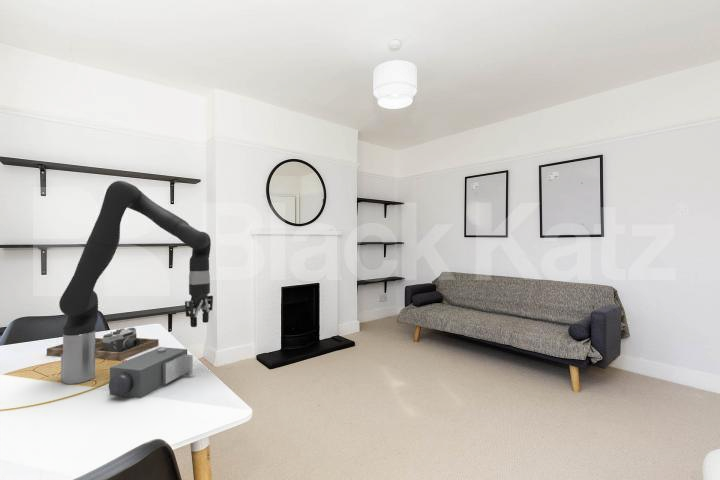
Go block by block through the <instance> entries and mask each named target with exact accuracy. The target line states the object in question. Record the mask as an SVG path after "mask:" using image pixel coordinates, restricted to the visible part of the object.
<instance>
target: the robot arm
mask: <svg viewBox="0 0 720 480" xmlns="http://www.w3.org/2000/svg"><path fill="white" fill-rule="evenodd" d="M127 209H130V210H132V211H134V212H137V213H140V215H141V214H142V215H143V216H145V217H146V218H148V219H149V220H150V221H152V222H153V223H155V225H157V226H158V227H159V228H161V229H162V230H164V231H165V232H167V233H168V234H170V235H172V236H173V237H176V238H177V239H179V240H180V241H181V243H183V244H184V245H186V246H187V247H189V248H191V249H192V250H191V251H192V252H191V256H190V259H189V264H188V265H189V271H188V272H189V274H188V295H190V296H191V297H190V300H185V302H184V307H185V308H184V309H185V317H186V318H187V317H188V318H189V319H190V320H189V321H190V322H189V323H190V324H189V325H190V327H191V328H196V327H198V317H197V316H198V313H199V312H200V311H201V312H202V323H203V324H205V323H209V315H210V314H209V313H210V312H211V311H213V307H214V306H213V305H214V304H213V303H214V295H209V294H210V293H211V275H210V255H211V254H210V253H211V246H212V243H211V241H212V240H211V237H210V235H209V234H208V233H207V232H205V231H200V230H198V229H196V228H195V227H193V226H191V225H190V224H189V223H188V221H186V220H184V219H182V218H181V217H179V216H178V215H176V214H175V213H173V212H172V211H170V210H168V209H166V208H164V207H163V206H161V205H159V204H157V203H156V202H155V201H153V200H152V199H150V198H149V197H148V196H147V195H146V194H145V193H144V192H142V191H141V190H140V189H139V188H138V187H137V186H136V185H134V184H131V183H129V182H127V181H125V180H116V181H113V182H112V183H110V185H108V187H107V189H106V191H105V194H104V198H103V201H102V204H101V209H100V211H99V214H98V217H97V219H96V220H95V223H94V226H93V228H92V230H91V232H90V235H89V237H88V238H87V240H86V243H85V246H84V248H83V249H82V250H83V251H82V253H81V256H80V258H79V259H78V263H77V264H76V269H75V271H74V273H73V276H72V277H71V280H70V281H69V283H68V285H67V286H66V288H65V290H64V292H63V293H62V295H61V296H60V298H59V304H58V307H59V309H60V311H61V312H62V313H63V315H66V316H67V320H66V321H65V322H66V323H65V324H64V325H63V327H62V344H63V354H62V355H61V357H60V381H61V382H62V383H63V384H64V385H65V384H67V385H74V384H80V383H85V382H87V381H90V380H92V379H94V378H95V377H96V358H95V338H96V325H97V322H98V319H99V318H98V315H99V299H98V294H97V292H96V291H95V290H94V289H95V287H96V283H97V282H98V280H99V278H100V277H101V276H102V274H103V273H104V272H105V270H106V269H107V267H108V266H109V265H110V264H111V262H112V260H113V257H114V255H115V253H116V251H117V249H118V246H119V243H120V240H121V239H120V238H121V222H122V220H123V217H124V214H125V212H126V210H127Z"/></svg>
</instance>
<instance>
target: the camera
mask: <svg viewBox="0 0 720 480" xmlns="http://www.w3.org/2000/svg"><path fill="white" fill-rule="evenodd" d="M102 338H103V342H102V343H103V351H108V352H120V353H121V352H123V351H126V350H129V349H131V348H134V347H137V346H140V344H141V341H140V339H138V338H139V337H137V328H135V327H134V326H132V327H128V328H123V327H122V328H121V327H120V328H119V329H116V330H115V331H110V333H107V334H104V335H103V337H102Z"/></svg>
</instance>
